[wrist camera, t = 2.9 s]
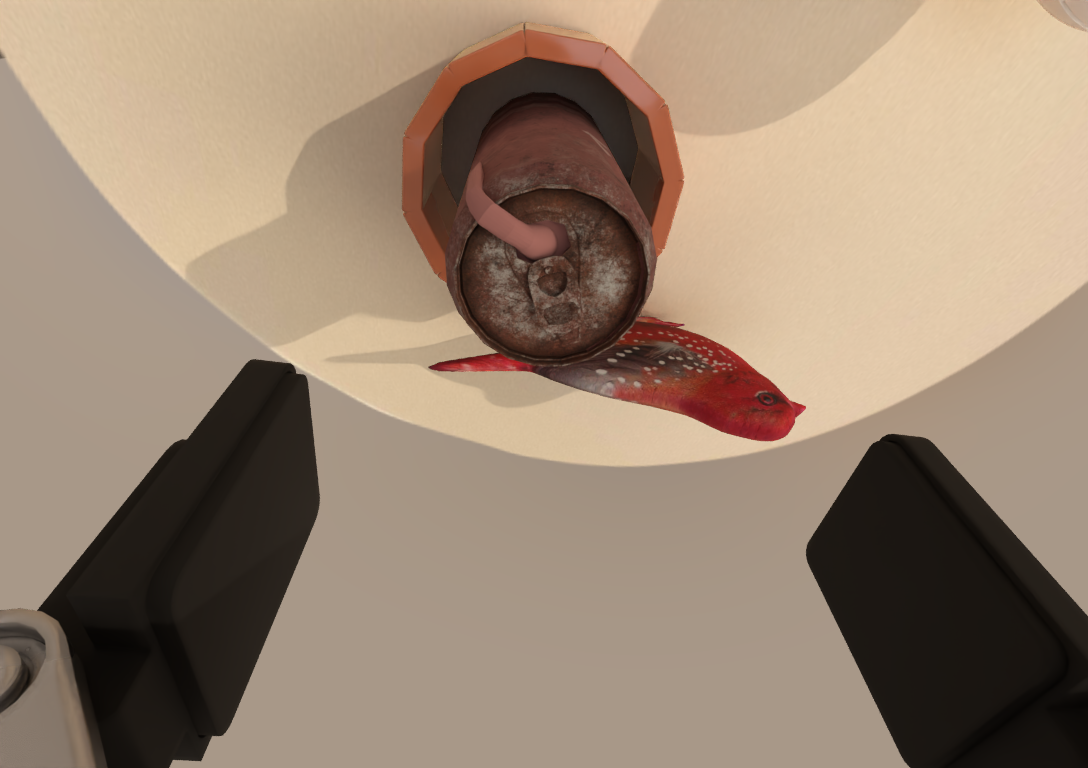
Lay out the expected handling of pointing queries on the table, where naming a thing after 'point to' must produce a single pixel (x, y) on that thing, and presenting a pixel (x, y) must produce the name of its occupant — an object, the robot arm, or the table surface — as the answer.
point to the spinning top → (1068, 12)
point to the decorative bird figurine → (669, 379)
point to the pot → (650, 117)
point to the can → (548, 237)
